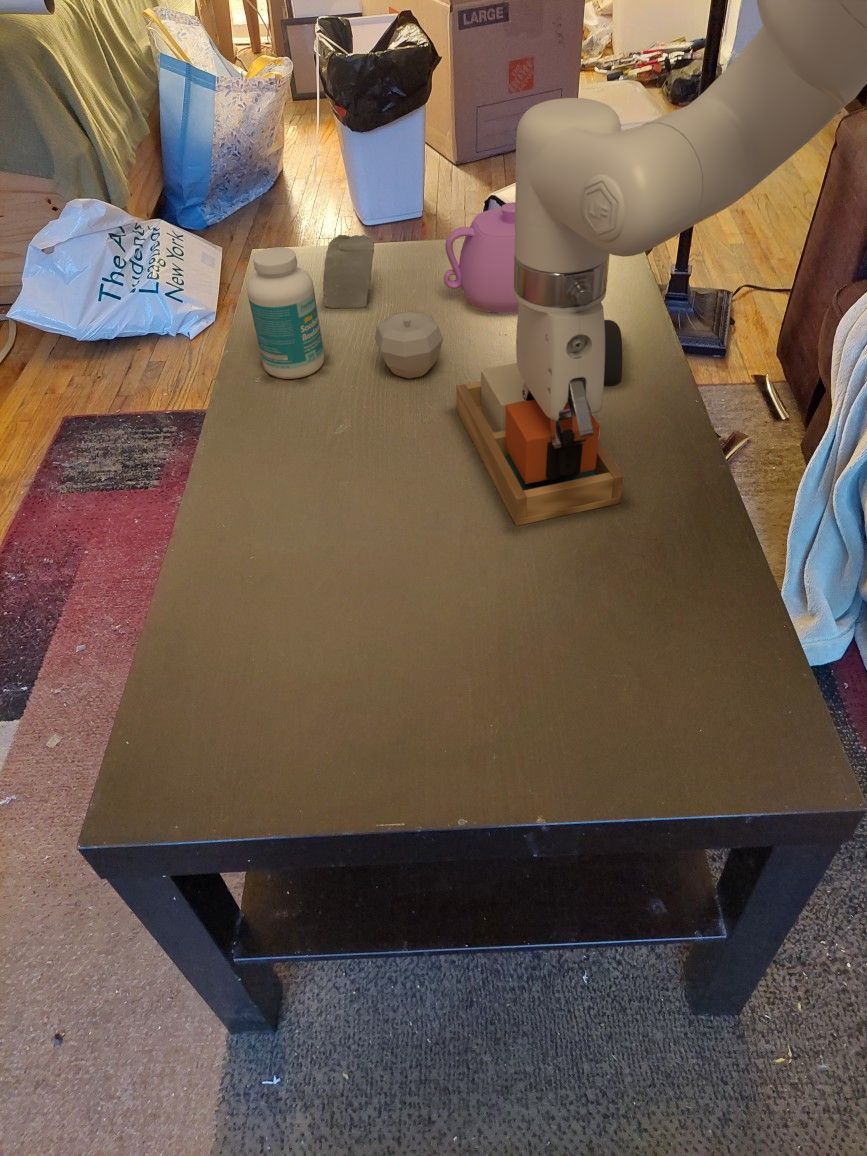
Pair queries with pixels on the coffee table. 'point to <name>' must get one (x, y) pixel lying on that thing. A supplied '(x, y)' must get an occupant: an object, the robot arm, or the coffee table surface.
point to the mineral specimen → (348, 271)
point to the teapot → (486, 260)
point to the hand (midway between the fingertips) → (550, 453)
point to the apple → (409, 343)
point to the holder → (542, 495)
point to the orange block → (540, 440)
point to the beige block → (500, 393)
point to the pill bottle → (285, 315)
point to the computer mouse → (612, 354)
